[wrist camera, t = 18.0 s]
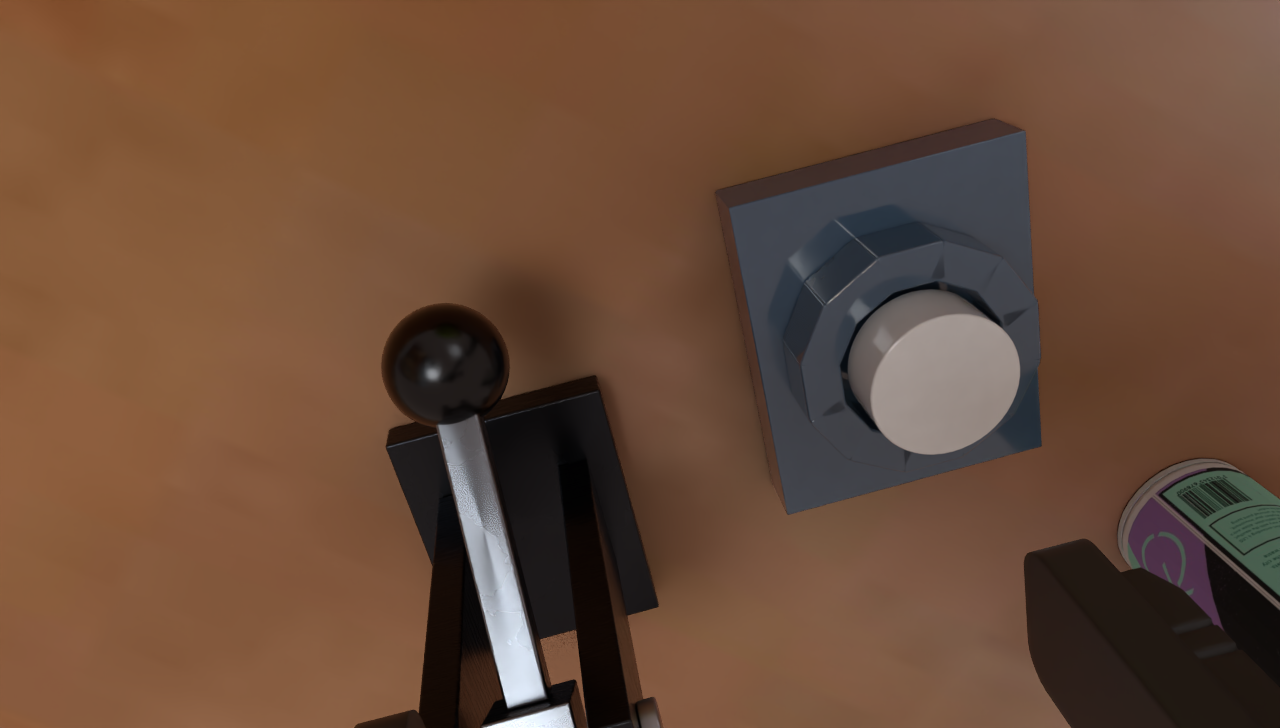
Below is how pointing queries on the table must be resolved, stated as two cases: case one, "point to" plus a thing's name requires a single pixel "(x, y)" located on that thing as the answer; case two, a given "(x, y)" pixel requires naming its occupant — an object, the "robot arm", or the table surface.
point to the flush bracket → (535, 554)
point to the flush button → (933, 371)
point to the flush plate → (877, 295)
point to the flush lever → (478, 495)
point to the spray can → (1213, 549)
